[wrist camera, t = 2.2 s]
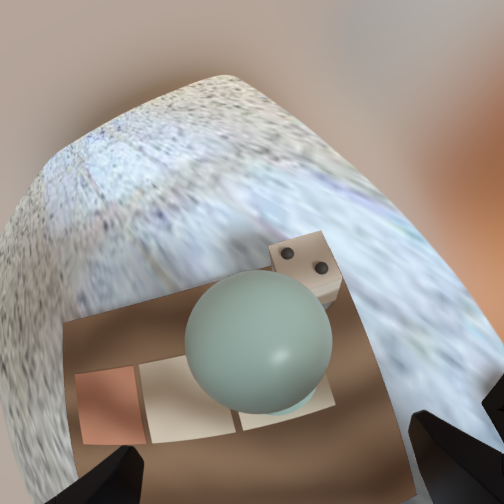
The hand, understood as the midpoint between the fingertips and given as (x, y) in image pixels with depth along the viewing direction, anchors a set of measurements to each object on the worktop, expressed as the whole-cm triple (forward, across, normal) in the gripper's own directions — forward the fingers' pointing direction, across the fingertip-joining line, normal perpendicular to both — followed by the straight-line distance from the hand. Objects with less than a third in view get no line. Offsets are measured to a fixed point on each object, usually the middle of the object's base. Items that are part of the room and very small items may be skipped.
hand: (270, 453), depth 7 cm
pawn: (+10, 0, +4) cm, 10 cm away
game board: (+8, +5, +7) cm, 12 cm away
